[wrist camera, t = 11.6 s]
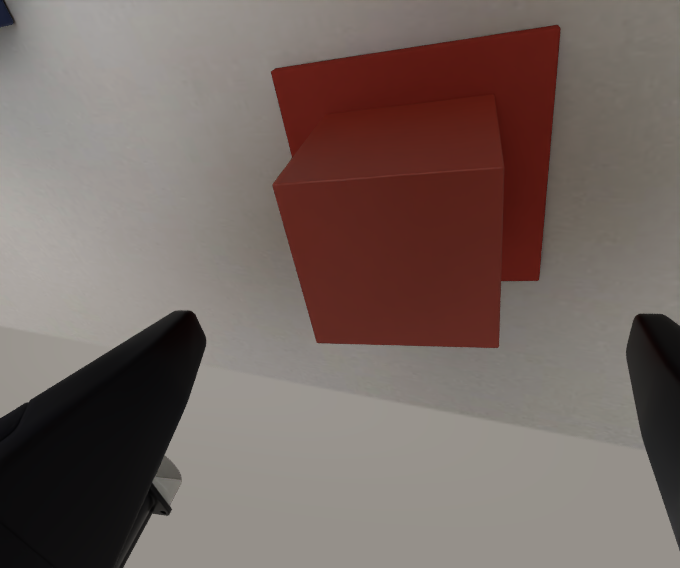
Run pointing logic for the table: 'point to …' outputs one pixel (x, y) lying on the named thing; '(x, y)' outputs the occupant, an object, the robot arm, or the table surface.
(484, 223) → the red block
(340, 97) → the red mat
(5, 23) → the blue block
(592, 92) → the table surface
